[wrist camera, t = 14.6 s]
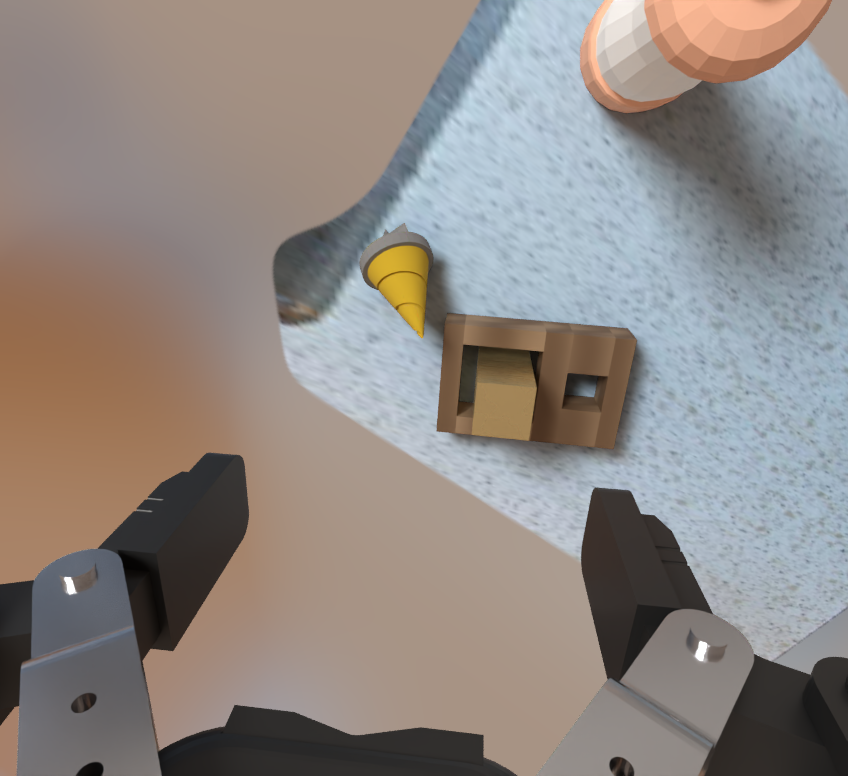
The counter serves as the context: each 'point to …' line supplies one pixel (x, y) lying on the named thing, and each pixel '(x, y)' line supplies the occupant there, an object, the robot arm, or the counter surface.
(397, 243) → the drill bit
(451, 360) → the bore block
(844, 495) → the counter surface
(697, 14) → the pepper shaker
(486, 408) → the tan square peg
